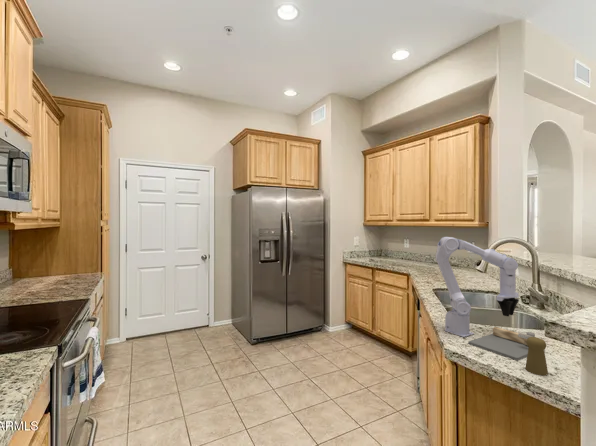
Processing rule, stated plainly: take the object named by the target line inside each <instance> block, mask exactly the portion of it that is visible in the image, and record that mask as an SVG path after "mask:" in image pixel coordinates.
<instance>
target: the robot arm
mask: <svg viewBox="0 0 596 446" xmlns="http://www.w3.org/2000/svg"><path fill="white" fill-rule="evenodd" d="M457 250H459V251H461V250H464V251H465V250H466V251H468V252H470V253H473V254H475V255H477V256H479V257H480V258H481V259H482V261H484V262H486V263H489V264H491V265H494V266H496V267H498V268H499V293H498V295H496V302H497V303H498V305H499V307H500V310H501V314H502V316H504V317H509V316H514V313H515V309H516V306H517V304H518V303H519V301H520V300H519V298H520V297H519V295H520V293H519V292H517V291H516V290H517V289H516V287H517V286H516V283H517V282H516V280H517V278H516V276H517V275H516V274H517V273H516V270H517V269H519V268H518V267H519V264H518V262H517V261H516V259H514V258H513V257H509V256H507V254H505V253H503V254H502V253H500V252H498V251H496V249H494V248H491V249H490V248H486V249H483V248H481V247H479V246H477V245H474V244H473V243H470V242H468V241H466V240H463V239H461V238H460V239H459V238H456V237H453V236H442V237H441V238H440V240H439V241H438V242H437V247H436V253H435V256H434V258H435V261H436V262H437V265H438V268H439V271H440V272H441V276H442V278H443V280H444V283H445V285H446V289H447V290H448V294H449V295H448V296H449V299H450V301H449V302H450V306H451V308H452V309H451V310H448V311H447V312H446V314H445V316H444V317H445V319H444V320H445V321H444V322H445V324H444V325H445V326H444V327H445V329H444V332H447V333H450V334H453V335H456V336H459V337H463V338H467V337H469V336H472V335H474V334H475V333H474V332H472V331H470V325H471V324H470V323H471V322H470V313H471V311H472V306H471V304H470V303H469V302H468V301H467V300H466V298H465V295H464V294H463V293H462V291H461V288H460V286H459V283H458V281H457V278H456V276H455V273H454V271H453V268H452V265H451V263H450V260H449V259H450V257H451V256H452V254H453V253H455V252H456V251H457Z"/></svg>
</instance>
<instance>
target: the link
mask: <svg viewBox="0 0 596 446" xmlns="http://www.w3.org/2000/svg"><path fill="white" fill-rule="evenodd" d="M518 333H519V332H516V331H513V330H509V329H505V328H501V327H498V326H495V327H493V328H492V334H493V335H496V336H499V337H503V338H506V339H509V340H513V341H516V342H519V343H523V344H525V345H527V339H525V338H521V337H518ZM535 337H536V338H538V337H537V336H535ZM527 346H528V345H527Z"/></svg>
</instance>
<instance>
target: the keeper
mask: <svg viewBox="0 0 596 446" xmlns="http://www.w3.org/2000/svg"><path fill="white" fill-rule="evenodd" d="M517 333H518V337H521V338H525V339H528V338H529V337H534V336H530V335H527V333H522V332H517Z"/></svg>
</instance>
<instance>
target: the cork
mask: <svg viewBox="0 0 596 446" xmlns="http://www.w3.org/2000/svg"><path fill="white" fill-rule="evenodd" d="M536 337H537V336H535V337H529V338H528V339H527V345H528V347H529V348H528V355H527V357H526V362H525V370H526V372H528V373H530V374H533V375H537V376H549V371H548V365H547V358H546V353H545V349H546V348H547V343H546V341H545V340H544V339H542V338H540V337H537V338H536Z"/></svg>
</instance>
